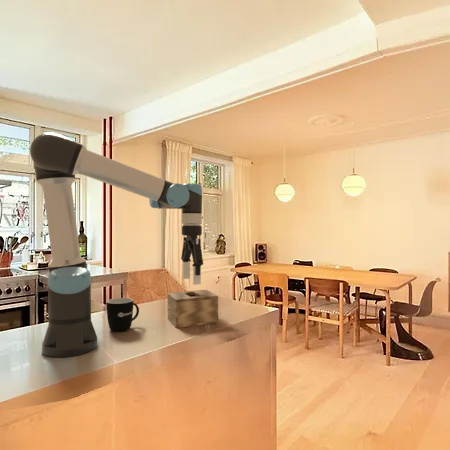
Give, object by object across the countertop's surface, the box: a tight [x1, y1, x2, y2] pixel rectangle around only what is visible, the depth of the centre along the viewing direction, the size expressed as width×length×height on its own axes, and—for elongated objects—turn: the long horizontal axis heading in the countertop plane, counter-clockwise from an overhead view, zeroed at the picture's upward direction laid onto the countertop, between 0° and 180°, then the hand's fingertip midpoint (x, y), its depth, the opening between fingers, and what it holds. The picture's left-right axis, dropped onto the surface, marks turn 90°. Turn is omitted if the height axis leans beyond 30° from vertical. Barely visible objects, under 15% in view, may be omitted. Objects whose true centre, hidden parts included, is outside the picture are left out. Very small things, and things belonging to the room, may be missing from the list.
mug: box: [105, 297, 140, 333], centre depth 126 cm, size 12×9×10 cm
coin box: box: [166, 289, 219, 329], centre depth 135 cm, size 16×13×10 cm
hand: (191, 281), depth 135 cm, fingers open, 13 cm apart
